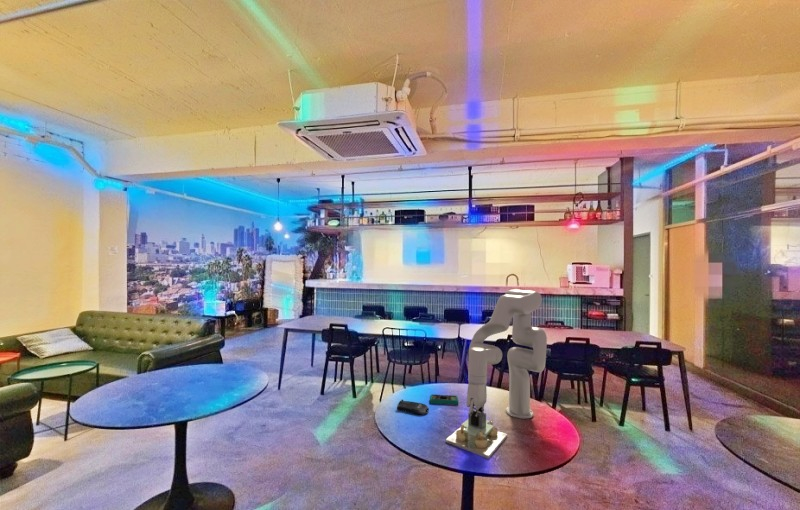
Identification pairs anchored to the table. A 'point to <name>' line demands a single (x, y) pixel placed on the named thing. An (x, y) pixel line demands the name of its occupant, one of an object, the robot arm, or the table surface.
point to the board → (475, 430)
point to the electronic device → (412, 407)
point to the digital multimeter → (443, 399)
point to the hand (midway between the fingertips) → (477, 422)
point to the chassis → (477, 441)
